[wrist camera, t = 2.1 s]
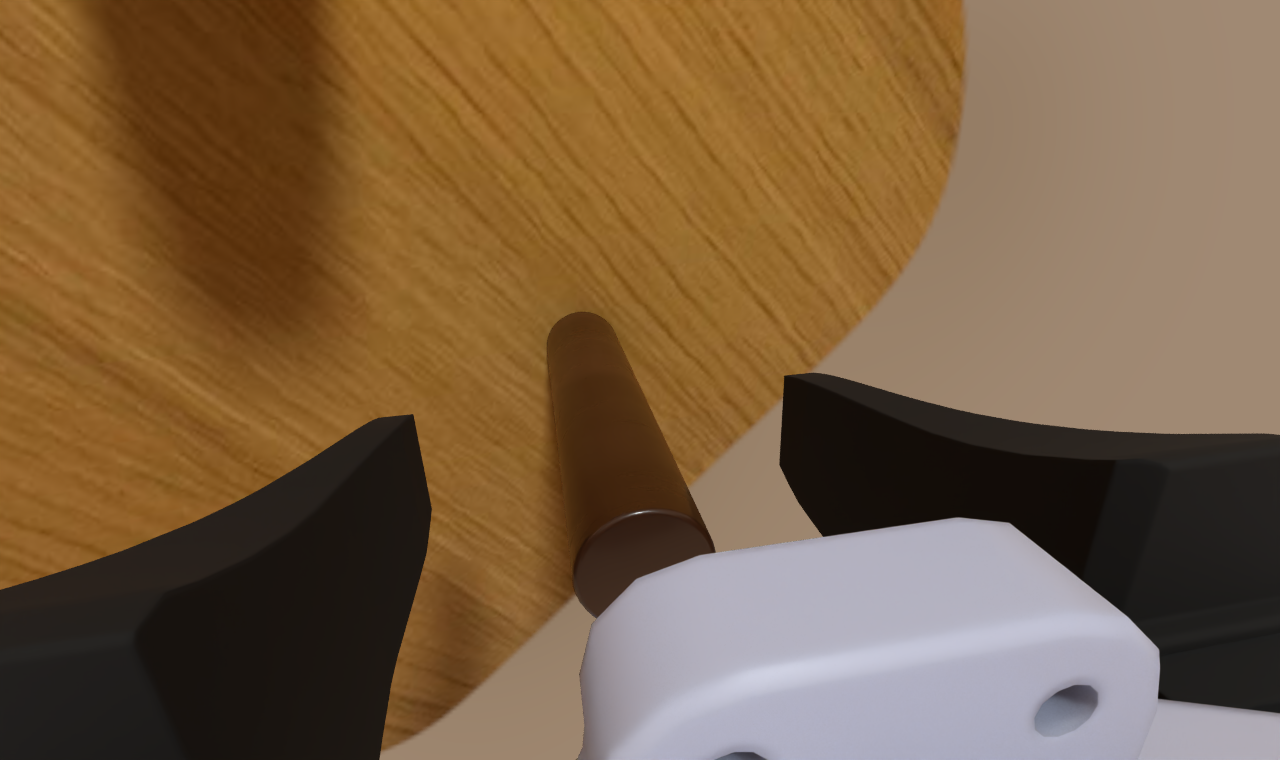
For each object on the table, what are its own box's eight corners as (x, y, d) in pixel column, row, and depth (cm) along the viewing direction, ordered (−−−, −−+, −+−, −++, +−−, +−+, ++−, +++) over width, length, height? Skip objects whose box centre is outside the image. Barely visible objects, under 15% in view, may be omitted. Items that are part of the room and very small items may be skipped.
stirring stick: (618, 374, 18) (717, 619, 9) (549, 381, 18) (578, 642, 8) (614, 308, 17) (718, 501, 8) (543, 314, 17) (566, 521, 8)
